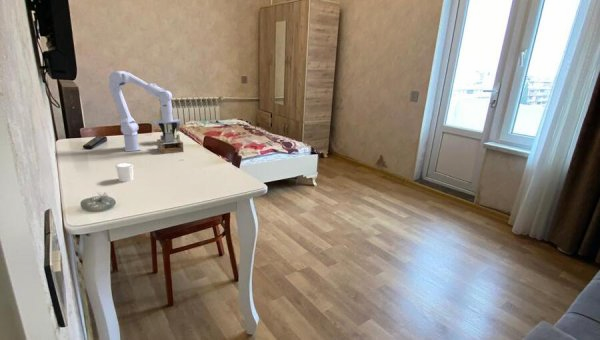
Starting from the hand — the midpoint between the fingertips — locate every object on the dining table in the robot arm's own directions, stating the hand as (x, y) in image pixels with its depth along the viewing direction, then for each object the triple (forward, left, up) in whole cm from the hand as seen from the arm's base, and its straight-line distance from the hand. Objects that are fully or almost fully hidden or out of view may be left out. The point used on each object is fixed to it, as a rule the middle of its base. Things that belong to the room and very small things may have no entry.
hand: (168, 135), depth 189 cm
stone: (0, 0, -3) cm, 3 cm away
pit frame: (-1, +1, -9) cm, 9 cm away
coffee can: (-19, +6, -9) cm, 22 cm away
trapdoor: (-3, +1, -4) cm, 5 cm away
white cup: (+40, -28, -9) cm, 50 cm away
